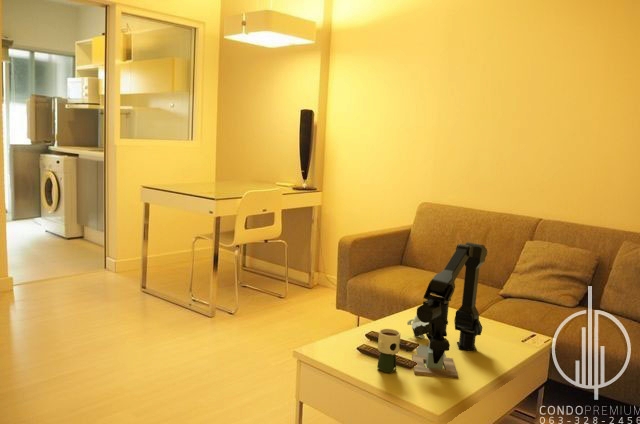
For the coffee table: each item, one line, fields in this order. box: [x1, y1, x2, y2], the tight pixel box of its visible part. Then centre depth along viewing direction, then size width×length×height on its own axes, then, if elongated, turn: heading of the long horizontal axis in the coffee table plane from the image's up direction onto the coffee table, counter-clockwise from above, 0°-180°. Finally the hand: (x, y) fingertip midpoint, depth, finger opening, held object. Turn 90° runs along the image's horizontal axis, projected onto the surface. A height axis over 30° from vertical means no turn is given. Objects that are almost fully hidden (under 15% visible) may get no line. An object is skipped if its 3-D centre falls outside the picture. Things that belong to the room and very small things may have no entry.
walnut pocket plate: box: [411, 353, 459, 379], centre depth 183 cm, size 14×14×1 cm
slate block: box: [425, 347, 444, 370], centre depth 183 cm, size 5×5×6 cm
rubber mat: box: [415, 344, 447, 357], centre depth 196 cm, size 10×10×1 cm
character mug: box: [376, 328, 401, 373], centre depth 178 cm, size 11×7×13 cm, turn 139°
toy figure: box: [406, 306, 425, 339], centre depth 209 cm, size 11×6×12 cm, turn 63°
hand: (434, 360), depth 183 cm, fingers closed on slate block, 5 cm apart
